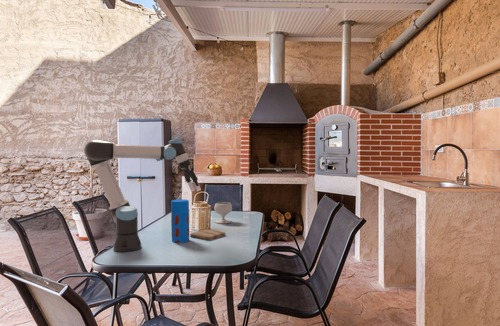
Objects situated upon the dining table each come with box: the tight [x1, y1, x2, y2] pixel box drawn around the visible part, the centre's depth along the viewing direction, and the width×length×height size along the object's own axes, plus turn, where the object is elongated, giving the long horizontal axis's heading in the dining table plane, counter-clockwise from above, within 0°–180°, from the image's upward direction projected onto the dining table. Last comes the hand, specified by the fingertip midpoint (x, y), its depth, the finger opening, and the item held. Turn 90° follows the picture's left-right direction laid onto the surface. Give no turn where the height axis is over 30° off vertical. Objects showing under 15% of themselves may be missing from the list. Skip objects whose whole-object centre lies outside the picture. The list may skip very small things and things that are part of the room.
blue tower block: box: [170, 198, 190, 244], centre depth 216 cm, size 11×11×25 cm
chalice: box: [213, 201, 233, 224], centre depth 271 cm, size 14×14×15 cm
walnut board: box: [189, 228, 226, 241], centre depth 227 cm, size 16×16×2 cm
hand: (196, 191), depth 228 cm, fingers open, 13 cm apart
